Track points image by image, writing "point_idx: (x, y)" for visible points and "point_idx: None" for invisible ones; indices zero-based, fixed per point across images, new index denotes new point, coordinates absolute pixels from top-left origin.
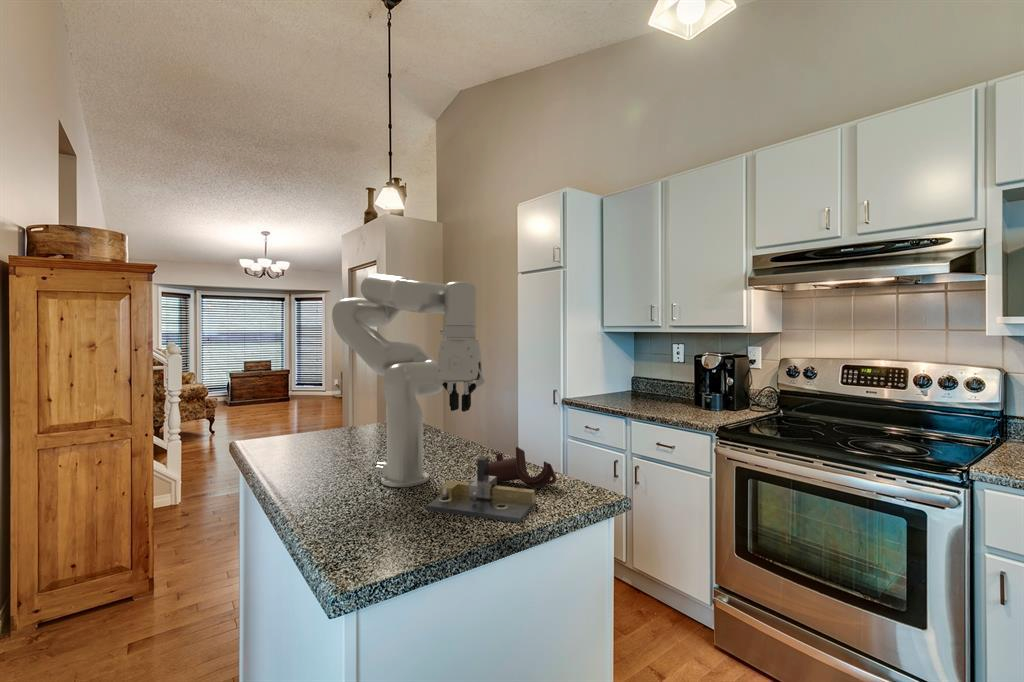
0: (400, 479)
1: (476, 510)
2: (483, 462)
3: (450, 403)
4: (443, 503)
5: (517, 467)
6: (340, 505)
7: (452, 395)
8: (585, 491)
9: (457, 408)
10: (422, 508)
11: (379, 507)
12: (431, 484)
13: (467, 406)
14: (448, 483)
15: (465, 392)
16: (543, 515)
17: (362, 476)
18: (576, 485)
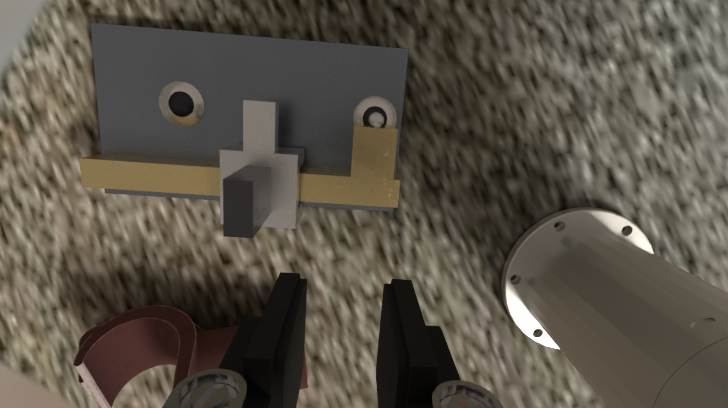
0: (578, 232)
1: (242, 50)
2: (227, 178)
3: (432, 335)
4: (364, 81)
5: (191, 342)
6: (684, 15)
7: (409, 356)
8: (13, 326)
9: (378, 354)
10: (424, 61)
11: (556, 33)
12: (479, 267)
13: (253, 316)
14: (385, 175)
15: (219, 391)
16: (58, 104)
17: (723, 280)
18: (55, 368)
